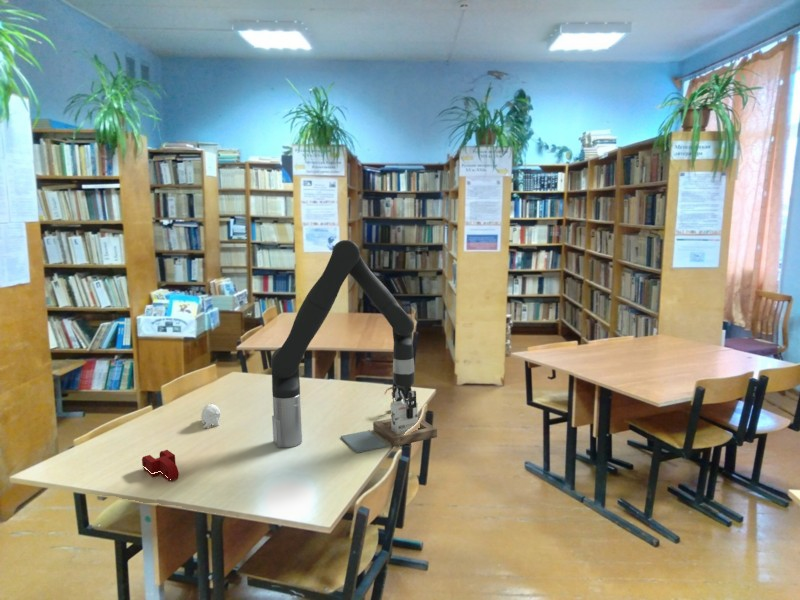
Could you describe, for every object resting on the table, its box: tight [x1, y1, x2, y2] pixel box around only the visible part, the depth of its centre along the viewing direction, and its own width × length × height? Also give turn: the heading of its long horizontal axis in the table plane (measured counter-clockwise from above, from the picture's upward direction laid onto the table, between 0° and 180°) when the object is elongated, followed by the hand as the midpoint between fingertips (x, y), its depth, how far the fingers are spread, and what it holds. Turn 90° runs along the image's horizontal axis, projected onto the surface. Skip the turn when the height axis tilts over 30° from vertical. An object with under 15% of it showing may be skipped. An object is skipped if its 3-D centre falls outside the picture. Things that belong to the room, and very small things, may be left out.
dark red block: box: [141, 449, 180, 483], centre depth 165 cm, size 16×7×5 cm, turn 45°
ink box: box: [390, 400, 419, 434], centre depth 193 cm, size 9×5×12 cm, turn 115°
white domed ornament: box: [200, 403, 221, 429], centre depth 206 cm, size 6×8×12 cm
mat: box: [340, 429, 388, 454], centre depth 187 cm, size 11×15×1 cm
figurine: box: [384, 385, 396, 408], centre depth 216 cm, size 8×6×12 cm
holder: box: [372, 416, 438, 447], centre depth 194 cm, size 17×17×3 cm
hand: (404, 414), depth 193 cm, fingers open, 8 cm apart
